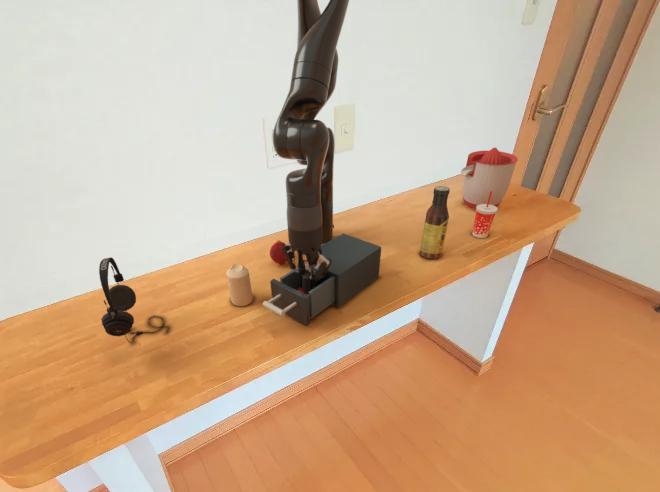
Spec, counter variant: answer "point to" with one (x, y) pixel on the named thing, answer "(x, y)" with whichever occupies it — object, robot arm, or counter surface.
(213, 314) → the counter surface
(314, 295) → the drawer
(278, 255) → the onion
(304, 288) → the lid
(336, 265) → the cabinet
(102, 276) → the headphones
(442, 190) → the sauce bottle
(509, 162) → the citrus juicer
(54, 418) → the counter surface
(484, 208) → the beverage cup
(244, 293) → the candle
